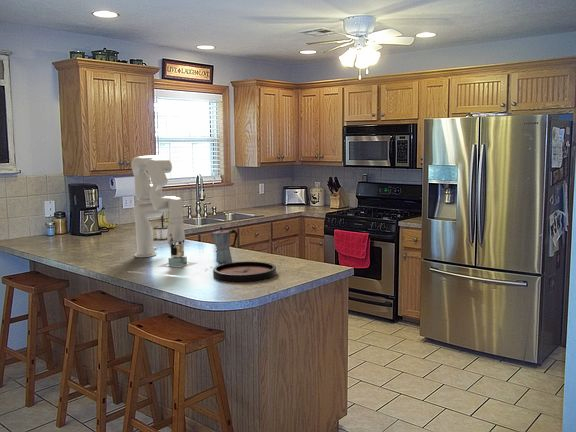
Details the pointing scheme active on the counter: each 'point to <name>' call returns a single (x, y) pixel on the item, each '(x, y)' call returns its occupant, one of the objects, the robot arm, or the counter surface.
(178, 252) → the maple block
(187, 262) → the build board
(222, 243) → the moka pot
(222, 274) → the round serving tray
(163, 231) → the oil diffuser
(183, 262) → the teal base block
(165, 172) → the robot arm
